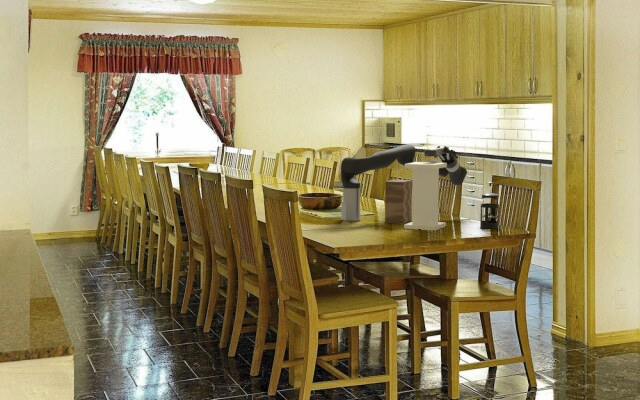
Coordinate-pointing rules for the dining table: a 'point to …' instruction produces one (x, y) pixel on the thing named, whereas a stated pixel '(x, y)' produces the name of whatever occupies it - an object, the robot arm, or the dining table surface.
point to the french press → (493, 223)
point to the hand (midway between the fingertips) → (441, 147)
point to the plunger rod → (434, 151)
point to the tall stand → (425, 196)
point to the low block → (398, 201)
